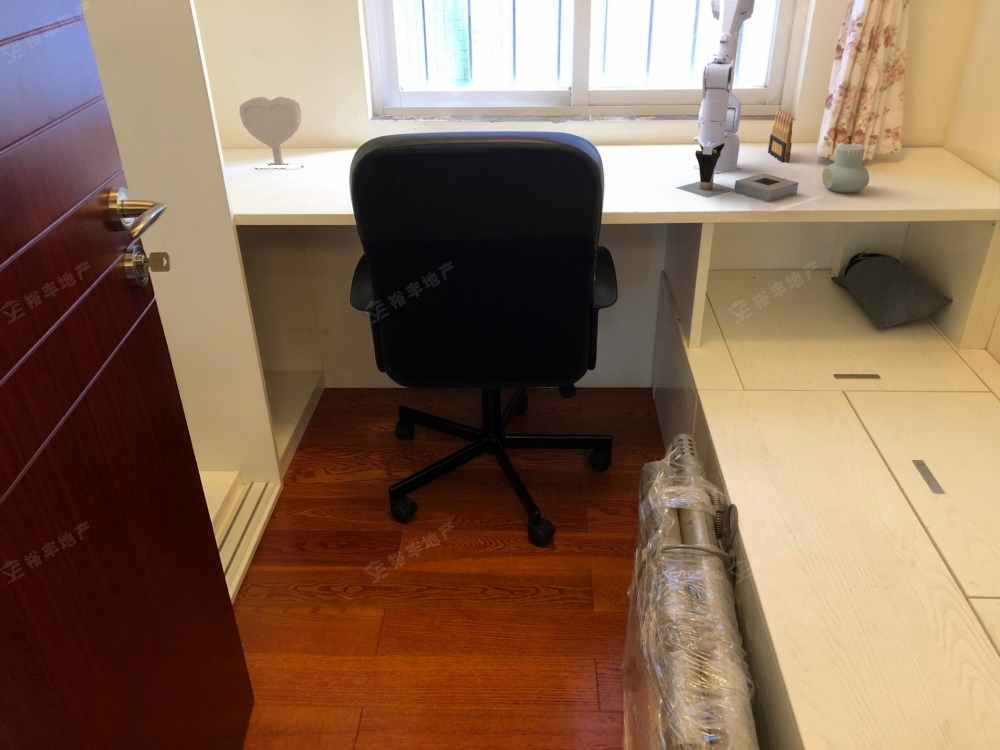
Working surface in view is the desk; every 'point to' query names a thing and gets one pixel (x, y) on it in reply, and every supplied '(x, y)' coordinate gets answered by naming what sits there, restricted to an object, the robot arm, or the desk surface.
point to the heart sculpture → (271, 121)
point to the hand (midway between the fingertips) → (707, 177)
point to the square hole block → (766, 187)
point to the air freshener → (846, 170)
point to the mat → (696, 189)
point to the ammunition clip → (781, 136)
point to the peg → (704, 184)
